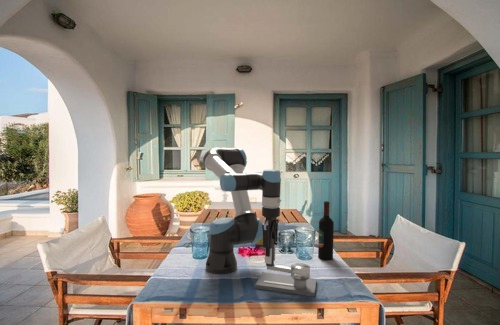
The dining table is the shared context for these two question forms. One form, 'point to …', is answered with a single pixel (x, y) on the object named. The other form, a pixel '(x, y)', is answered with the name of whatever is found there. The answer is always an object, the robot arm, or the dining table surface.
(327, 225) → the wine bottle
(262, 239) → the plant pot
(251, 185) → the robot arm
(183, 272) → the dining table surface
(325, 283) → the dining table surface
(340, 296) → the dining table surface
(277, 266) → the grey lever handle
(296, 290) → the base plate
